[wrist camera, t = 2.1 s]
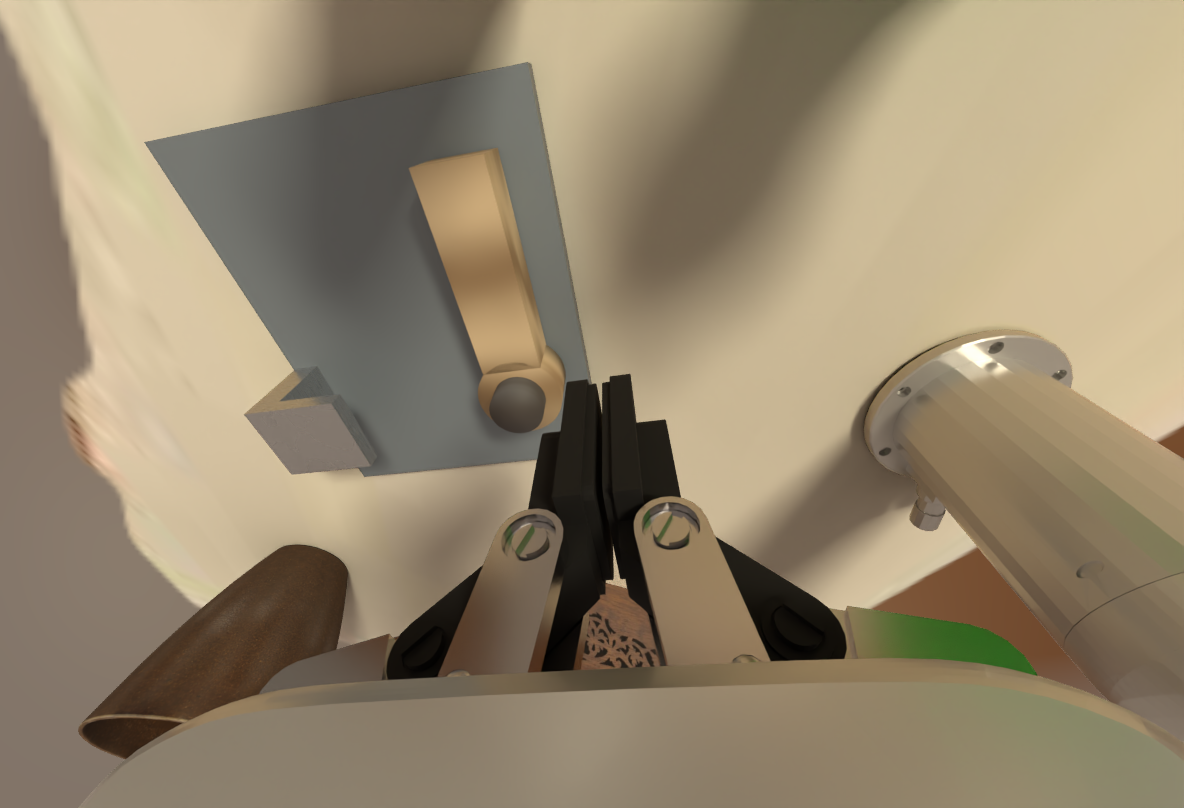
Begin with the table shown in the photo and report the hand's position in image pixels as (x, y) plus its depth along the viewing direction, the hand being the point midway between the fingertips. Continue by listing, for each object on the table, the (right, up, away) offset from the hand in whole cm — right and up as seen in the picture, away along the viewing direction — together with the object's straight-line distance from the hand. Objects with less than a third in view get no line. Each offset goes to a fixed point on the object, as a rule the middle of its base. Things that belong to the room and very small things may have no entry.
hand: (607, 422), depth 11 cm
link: (-6, +7, +14) cm, 17 cm away
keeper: (-18, +2, +20) cm, 27 cm away
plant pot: (-30, -17, +34) cm, 48 cm away
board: (-11, +6, +17) cm, 21 cm away
